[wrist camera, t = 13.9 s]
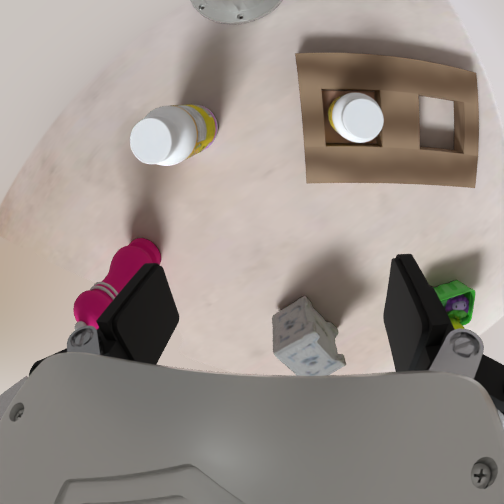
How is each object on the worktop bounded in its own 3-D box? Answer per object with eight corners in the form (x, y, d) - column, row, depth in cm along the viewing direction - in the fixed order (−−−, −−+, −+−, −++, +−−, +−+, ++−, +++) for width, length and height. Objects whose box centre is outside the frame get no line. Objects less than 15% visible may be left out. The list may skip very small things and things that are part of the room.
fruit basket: (463, 271, 38) (492, 313, 28) (460, 309, 42) (482, 352, 32) (406, 288, 42) (425, 336, 32) (407, 326, 45) (422, 373, 35)
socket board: (295, 57, 29) (295, 53, 26) (465, 73, 24) (476, 72, 21) (306, 177, 36) (306, 183, 34) (465, 181, 31) (474, 188, 29)
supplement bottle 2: (339, 86, 29) (353, 79, 21) (376, 110, 30) (401, 112, 21) (319, 121, 32) (325, 126, 24) (355, 144, 32) (373, 157, 24)
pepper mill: (131, 228, 45) (54, 299, 27) (168, 246, 45) (101, 330, 28) (125, 260, 48) (58, 333, 31) (158, 278, 49) (100, 361, 31)
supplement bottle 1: (177, 154, 37) (127, 178, 26) (170, 109, 34) (115, 116, 23) (222, 148, 36) (186, 170, 25) (216, 100, 33) (175, 100, 22)
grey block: (343, 325, 47) (347, 372, 38) (303, 343, 51) (301, 389, 42) (314, 288, 44) (314, 334, 35) (272, 310, 48) (263, 356, 39)
